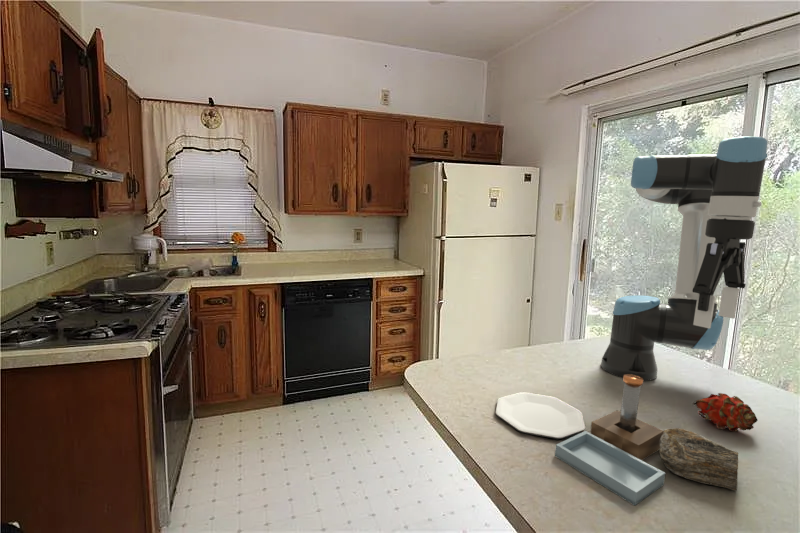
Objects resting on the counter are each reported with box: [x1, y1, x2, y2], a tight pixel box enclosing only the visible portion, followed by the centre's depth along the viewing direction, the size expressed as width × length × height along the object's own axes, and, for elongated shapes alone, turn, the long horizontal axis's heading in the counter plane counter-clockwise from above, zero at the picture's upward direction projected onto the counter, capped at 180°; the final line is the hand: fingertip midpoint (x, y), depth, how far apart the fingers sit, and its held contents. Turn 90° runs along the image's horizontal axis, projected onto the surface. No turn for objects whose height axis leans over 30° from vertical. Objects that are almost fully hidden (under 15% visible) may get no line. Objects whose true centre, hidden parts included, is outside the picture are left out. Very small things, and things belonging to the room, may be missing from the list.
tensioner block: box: [589, 410, 665, 461], centre depth 89 cm, size 10×10×4 cm
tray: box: [554, 430, 666, 506], centre depth 80 cm, size 16×10×2 cm, turn 33°
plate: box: [495, 391, 586, 440], centre depth 99 cm, size 20×20×2 cm
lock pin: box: [619, 374, 644, 433], centre depth 88 cm, size 4×4×15 cm
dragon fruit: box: [692, 392, 758, 432], centre depth 97 cm, size 8×8×12 cm
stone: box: [658, 427, 739, 491], centre depth 80 cm, size 14×10×10 cm
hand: (714, 321), depth 86 cm, fingers open, 13 cm apart
